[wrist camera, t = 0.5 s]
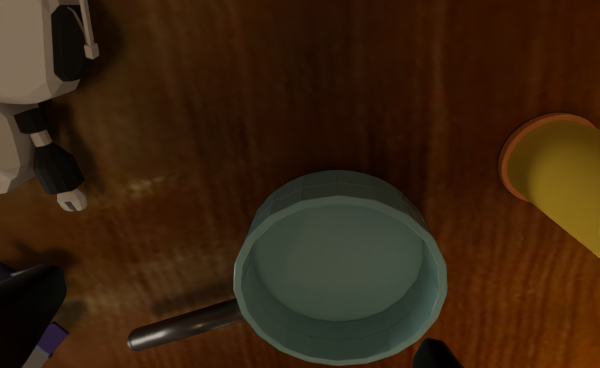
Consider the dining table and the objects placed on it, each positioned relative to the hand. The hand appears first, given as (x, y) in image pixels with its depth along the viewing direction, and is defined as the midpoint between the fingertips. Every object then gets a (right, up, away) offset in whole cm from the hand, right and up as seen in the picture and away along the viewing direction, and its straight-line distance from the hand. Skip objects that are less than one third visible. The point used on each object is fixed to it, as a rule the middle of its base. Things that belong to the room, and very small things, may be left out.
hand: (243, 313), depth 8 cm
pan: (+4, -2, +16) cm, 17 cm away
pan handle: (-7, -7, +17) cm, 19 cm away
